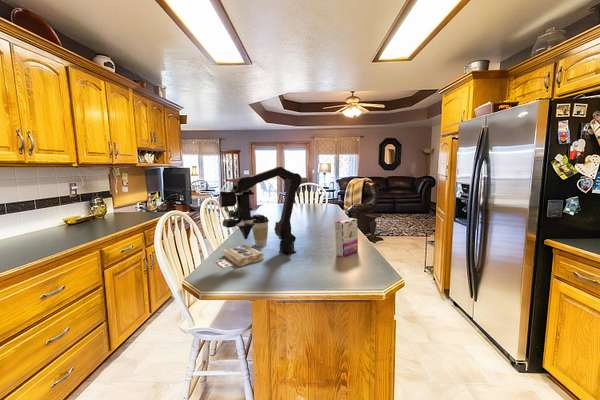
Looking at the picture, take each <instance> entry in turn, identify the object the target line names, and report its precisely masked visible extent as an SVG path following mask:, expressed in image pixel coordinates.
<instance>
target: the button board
mask: <svg viewBox="0 0 600 400" xmlns="http://www.w3.org/2000/svg"><path fill="white" fill-rule="evenodd" d="M235 247H236V246H235ZM235 247H234V246H233V247H231V248H226V249H222V256H223V255H224V256H225V257H224V256H223V257H224V258H226V257H227V258H228V259H227V258H226V259H227V260H229V261H231V262H232V263H233V264H236V266H238V267H241V266H245V265H249V264H253V263H256V262H259V261H263V260H264V253H263V252H261V251H259V250H257V249H256V248H253V247H250V246H249V245H246V244H244V245H239V246H237V247H240V248H245V249H246V252H251V255H250V256H245V255H244V253H241V254H240V253H239V250H237V251H235V250H234V248H235ZM246 252H245V253H246Z"/></svg>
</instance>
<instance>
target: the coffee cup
mask: <svg viewBox="0 0 600 400" xmlns="http://www.w3.org/2000/svg"><path fill="white" fill-rule="evenodd" d="M265 220H266V221H265V222H259V221H258V220H257V221H253V223H254V224H255V225H253V227H252V229H251V230H252V234H253V235H252V236H253V240H254V245H256V246H255V247H265V246H267V245H268V244H267V242H268V233H269V222H270V220H269V218H268V216H265Z"/></svg>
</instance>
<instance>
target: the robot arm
mask: <svg viewBox="0 0 600 400" xmlns="http://www.w3.org/2000/svg"><path fill="white" fill-rule="evenodd" d="M277 177H279V178H280V179H282V180H284V186H285V194H284V195H285V196H284V200H283V206H282V212H281V217H280V220H278V221H275V222H274V223H275V225H274V229H273V230H274V234H275V235H276V236H277V237H278V239H279V250H278V253H279V254H282V255H285V256H288V255H291V254H296V253H297V251H296V250H295V242H296V239H297V237H296V236H295V235H294V234H293V233H292V223H291V219H292V218H291V217H292V213H293V207H294V203H295V198H296V193H297V191H298V190H299V188H300V186H301V184H302V176H301V175H300V173H296V172H295V173H294V172H292V171H291V170H287V169H285V168H284V167H282V166H275V167H273V168H271V169H268V170H266V171H263V172H259V173H257V174H253V175H246V176H245V175H244V176H239V177H237V178H236V179H235V181H234V185H233V187H232V188H231V190H229V191H219V197H218V203H219V207H220V208H231V207H235V205H236V206H237V207H236V208H235V210H234V209H231V210H228V217H229V218H226V219H223V220H222V227H224V228H227V229H228V228H235V227H238V228H239V230H240V232H241V234H242V237H243V238H244V240H247V239H248V238H249V235H250V233H251V230H252V227H253V225H255V224H254V223H253V221H257V220H258V221H259V222H265V221H266V220H265V217H266V216H265V215H264V214H259V213H257V214H253V215H252V213H251V211H253V209H252V208H253V207H251V198H250V197H251V196H252V195H255V193H254V192H253V191H252V190H251V188H253V187H255V186H256V185H258V184H259V183H263V182H265V181H267V180H271V179H273V178H277ZM251 215H252V216H251Z"/></svg>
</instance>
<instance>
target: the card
mask: <svg viewBox="0 0 600 400" xmlns="http://www.w3.org/2000/svg"><path fill="white" fill-rule="evenodd" d="M223 259H224V258H223ZM223 259H219V260H220V261H219V260H218V261H219V263H218V264H219V265H218V264H217V265H218V266H220V267H221V266H222V267H221V268H222V269H225V268H226V269H227V268H229V267H230V268H231V267H233V266H234V264H232V263H231V262H230V261H228V260H226V259H224V260H223Z"/></svg>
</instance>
